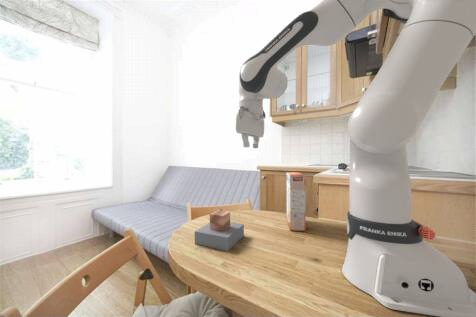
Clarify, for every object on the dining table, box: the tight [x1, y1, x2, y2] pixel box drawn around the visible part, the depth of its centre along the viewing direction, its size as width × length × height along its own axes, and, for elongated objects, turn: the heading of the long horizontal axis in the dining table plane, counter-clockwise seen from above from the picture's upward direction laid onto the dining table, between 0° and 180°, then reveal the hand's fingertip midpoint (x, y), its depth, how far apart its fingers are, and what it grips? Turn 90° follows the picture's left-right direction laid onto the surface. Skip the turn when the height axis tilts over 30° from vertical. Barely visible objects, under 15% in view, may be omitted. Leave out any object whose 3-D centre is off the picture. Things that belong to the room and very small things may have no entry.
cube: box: [209, 209, 231, 231], centre depth 65 cm, size 5×5×5 cm
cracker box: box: [285, 171, 306, 232], centre depth 78 cm, size 14×6×21 cm, turn 171°
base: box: [194, 221, 245, 252], centre depth 65 cm, size 12×12×4 cm
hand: (251, 147), depth 72 cm, fingers open, 8 cm apart
